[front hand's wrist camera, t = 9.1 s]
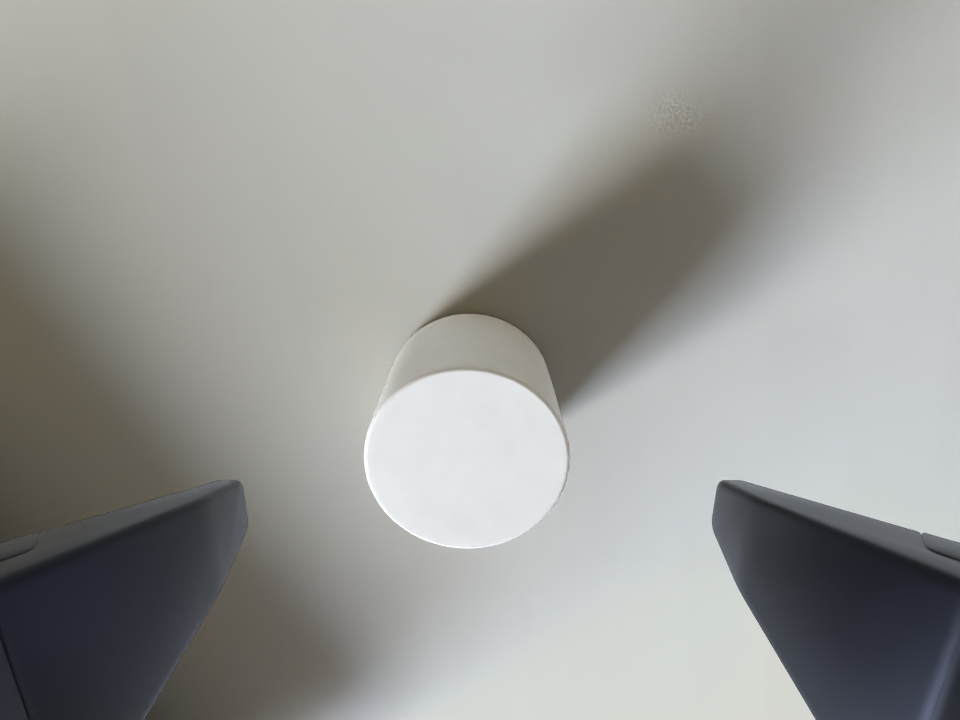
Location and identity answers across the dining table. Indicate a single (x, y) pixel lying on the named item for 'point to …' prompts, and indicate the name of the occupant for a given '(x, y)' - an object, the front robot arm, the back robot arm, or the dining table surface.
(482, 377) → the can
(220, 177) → the dining table surface
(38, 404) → the dining table surface
